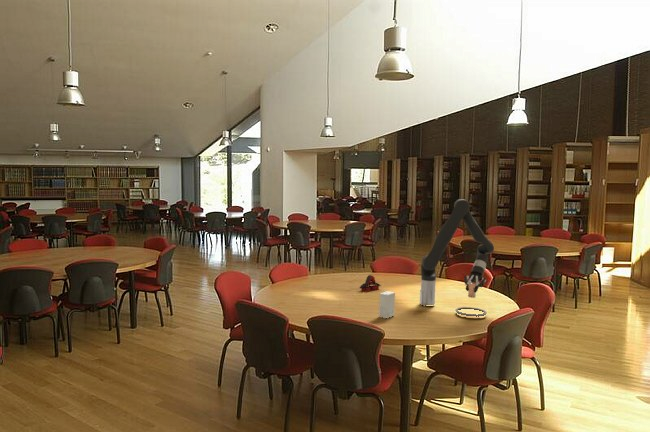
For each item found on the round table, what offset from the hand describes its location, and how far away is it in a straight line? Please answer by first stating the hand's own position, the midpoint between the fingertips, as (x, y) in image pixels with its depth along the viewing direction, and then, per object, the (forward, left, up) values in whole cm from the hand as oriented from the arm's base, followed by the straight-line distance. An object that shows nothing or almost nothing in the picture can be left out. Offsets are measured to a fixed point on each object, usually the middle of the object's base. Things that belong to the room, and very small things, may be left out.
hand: (470, 290), depth 314 cm
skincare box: (-52, -7, -16) cm, 55 cm away
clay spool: (+1, +2, -4) cm, 4 cm away
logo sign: (-57, +62, -16) cm, 86 cm away
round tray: (+1, +1, -16) cm, 16 cm away
